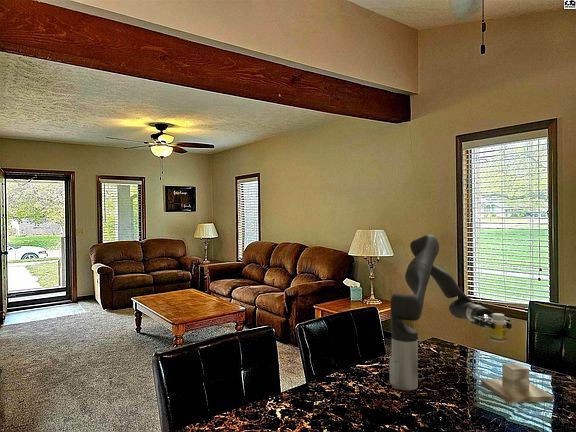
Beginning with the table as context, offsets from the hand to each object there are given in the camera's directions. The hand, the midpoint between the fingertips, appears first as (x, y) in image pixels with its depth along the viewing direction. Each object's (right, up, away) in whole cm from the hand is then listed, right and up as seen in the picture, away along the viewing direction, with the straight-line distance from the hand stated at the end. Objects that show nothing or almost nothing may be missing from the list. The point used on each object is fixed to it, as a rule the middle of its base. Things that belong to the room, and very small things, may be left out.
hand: (502, 326), depth 152 cm
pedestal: (+2, -22, -6) cm, 22 cm away
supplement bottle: (0, -6, +3) cm, 7 cm away
